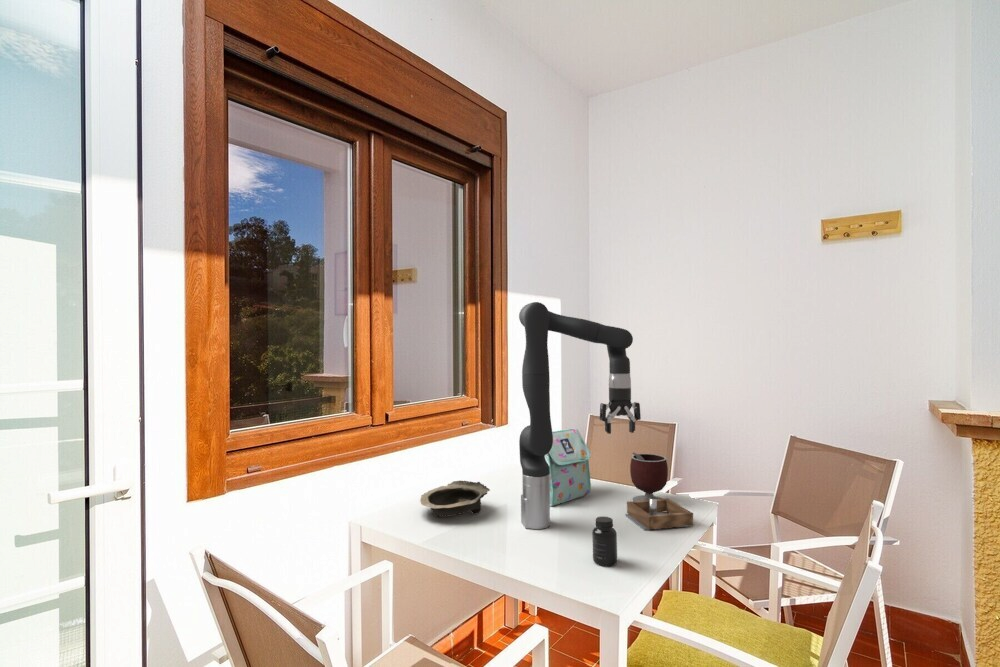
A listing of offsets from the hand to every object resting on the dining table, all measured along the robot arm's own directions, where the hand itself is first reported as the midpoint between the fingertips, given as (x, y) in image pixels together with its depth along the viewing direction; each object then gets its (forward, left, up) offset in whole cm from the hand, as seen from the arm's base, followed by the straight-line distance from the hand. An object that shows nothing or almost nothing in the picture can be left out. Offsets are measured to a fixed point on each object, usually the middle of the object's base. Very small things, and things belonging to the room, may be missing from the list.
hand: (620, 432), depth 178 cm
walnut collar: (+12, -4, -30) cm, 32 cm away
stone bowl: (-56, +20, -30) cm, 67 cm away
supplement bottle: (-19, -30, -30) cm, 47 cm away
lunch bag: (-13, +28, -30) cm, 43 cm away
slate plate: (+10, -4, -30) cm, 32 cm away
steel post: (+10, -4, -30) cm, 32 cm away
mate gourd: (+18, +15, -30) cm, 38 cm away
